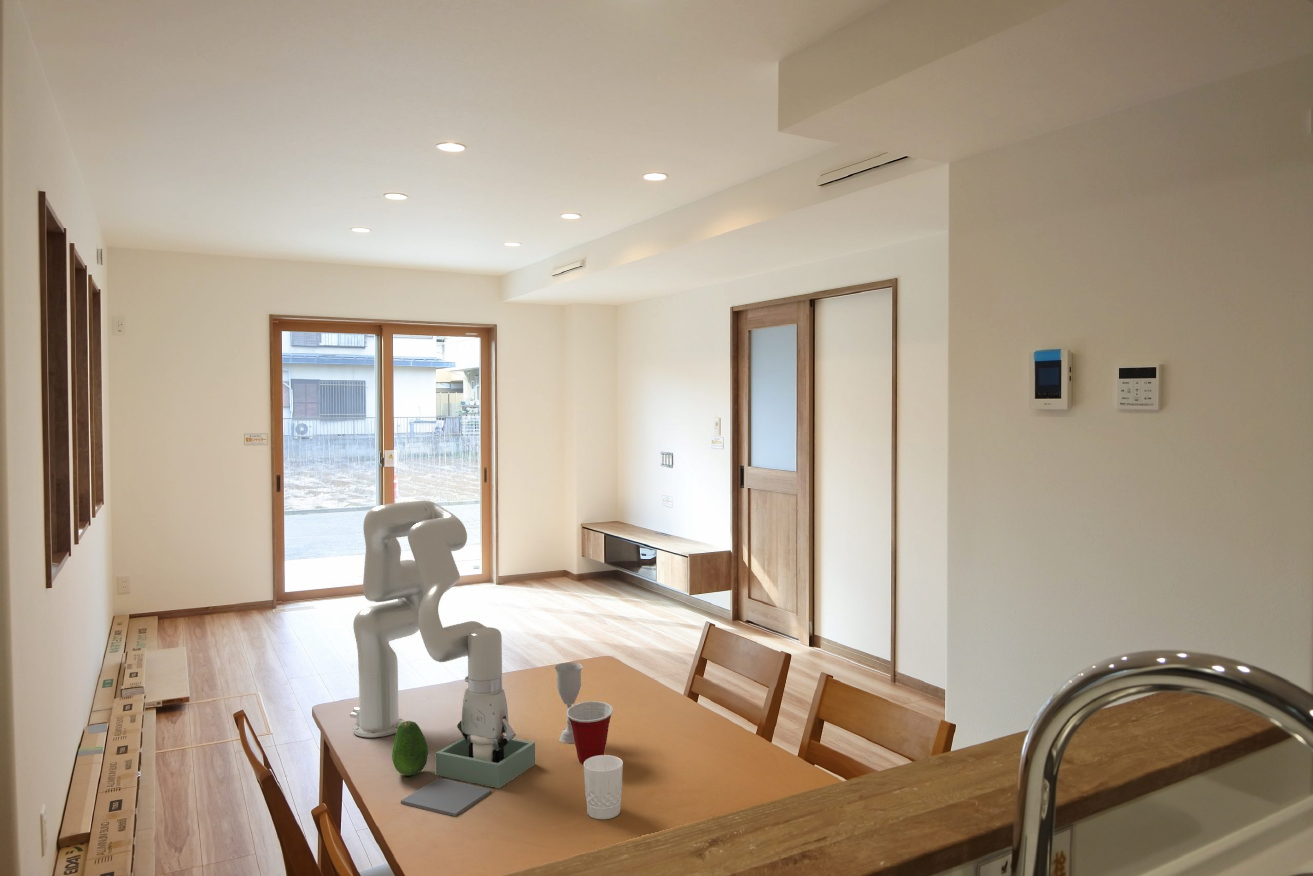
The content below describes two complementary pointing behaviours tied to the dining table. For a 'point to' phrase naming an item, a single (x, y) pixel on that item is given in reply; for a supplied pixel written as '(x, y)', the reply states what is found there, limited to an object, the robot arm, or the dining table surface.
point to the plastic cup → (590, 727)
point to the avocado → (409, 749)
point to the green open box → (485, 763)
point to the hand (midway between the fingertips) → (486, 762)
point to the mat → (446, 796)
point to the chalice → (568, 691)
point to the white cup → (603, 786)
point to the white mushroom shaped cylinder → (483, 747)
